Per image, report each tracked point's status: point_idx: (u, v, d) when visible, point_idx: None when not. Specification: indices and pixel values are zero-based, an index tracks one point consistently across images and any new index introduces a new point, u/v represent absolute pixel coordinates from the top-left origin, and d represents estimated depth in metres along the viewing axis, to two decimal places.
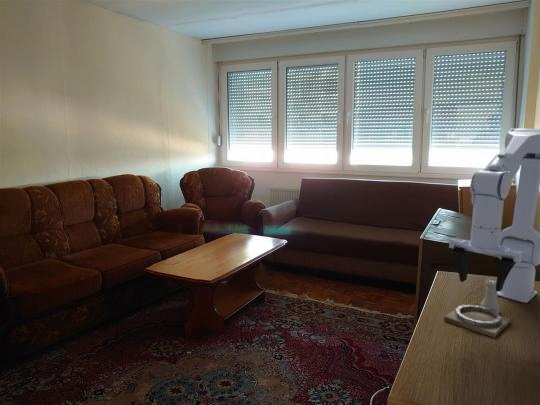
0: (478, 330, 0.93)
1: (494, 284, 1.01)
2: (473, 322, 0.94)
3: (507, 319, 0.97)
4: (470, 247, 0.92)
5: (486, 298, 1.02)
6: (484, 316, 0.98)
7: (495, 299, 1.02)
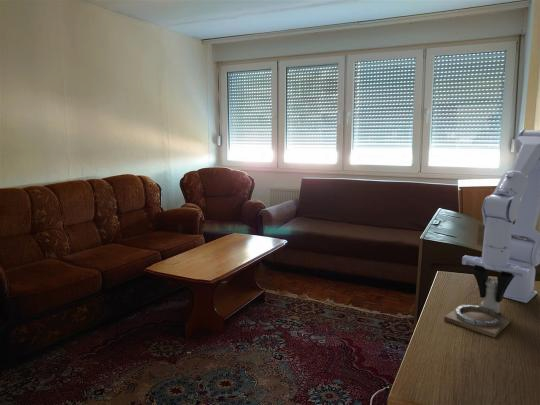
0: (478, 330, 0.93)
1: (494, 284, 1.01)
2: (473, 322, 0.94)
3: (507, 319, 0.97)
4: (482, 264, 1.01)
5: (486, 298, 1.02)
6: (484, 316, 0.98)
7: (495, 299, 1.02)
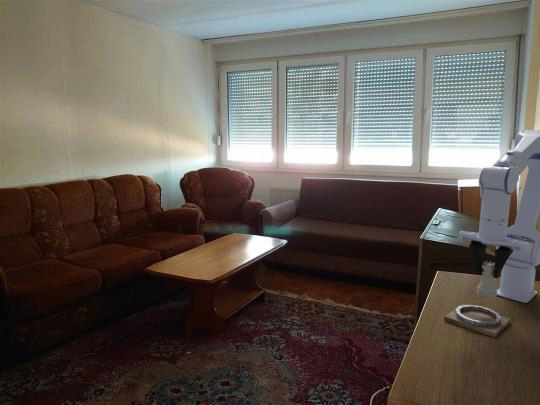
0: (478, 330, 0.93)
1: (490, 267, 0.97)
2: (473, 322, 0.94)
3: (507, 319, 0.97)
4: (478, 239, 0.97)
5: (482, 282, 0.99)
6: (484, 316, 0.98)
7: (492, 282, 0.98)
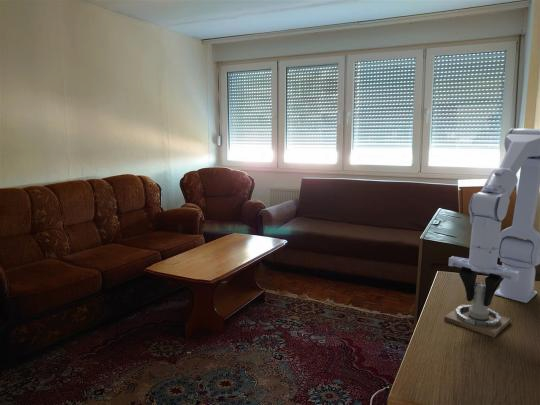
0: (478, 330, 0.93)
1: (483, 288, 0.96)
2: (473, 322, 0.94)
3: (507, 319, 0.97)
4: (469, 266, 0.95)
5: (474, 303, 0.97)
6: None
7: None
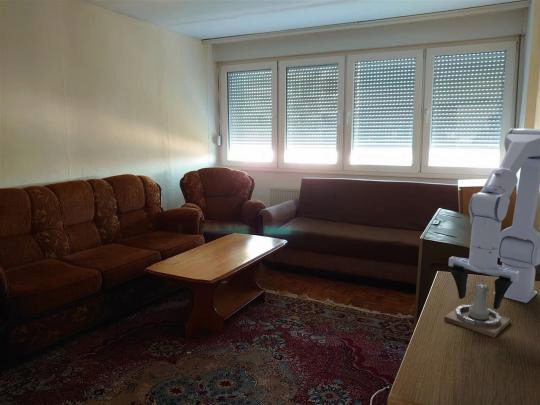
0: (478, 330, 0.93)
1: (483, 288, 0.96)
2: (473, 322, 0.94)
3: (507, 319, 0.97)
4: (469, 266, 0.95)
5: (474, 303, 0.97)
6: None
7: (484, 304, 0.96)
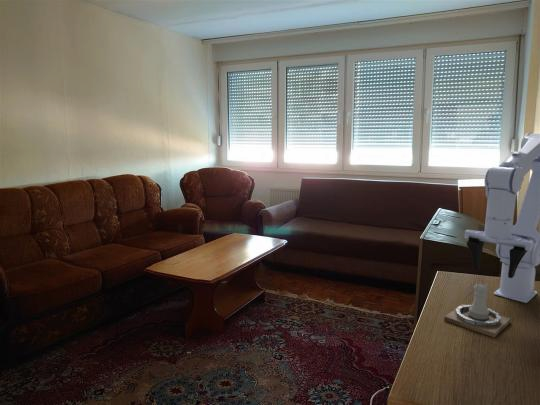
0: (478, 330, 0.93)
1: (483, 288, 0.96)
2: (473, 322, 0.94)
3: (507, 319, 0.97)
4: (484, 237, 1.00)
5: (474, 303, 0.97)
6: None
7: (484, 304, 0.96)
